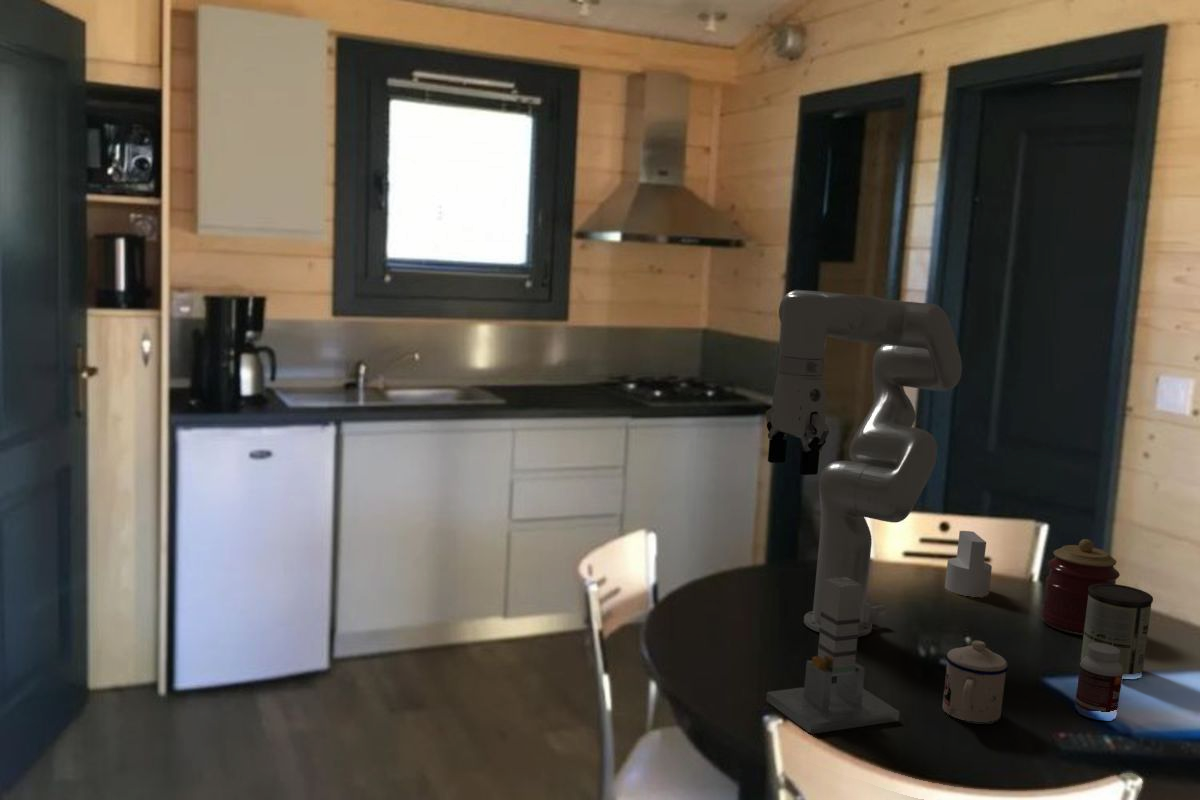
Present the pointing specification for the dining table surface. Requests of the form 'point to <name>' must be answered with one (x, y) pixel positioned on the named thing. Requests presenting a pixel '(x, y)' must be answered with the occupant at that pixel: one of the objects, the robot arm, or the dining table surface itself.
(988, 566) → the cylinder with rectangular tab
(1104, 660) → the pill bottle
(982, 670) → the teacup with lid
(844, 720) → the stand
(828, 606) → the column
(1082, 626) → the canister
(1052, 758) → the dining table surface
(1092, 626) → the coffee can
